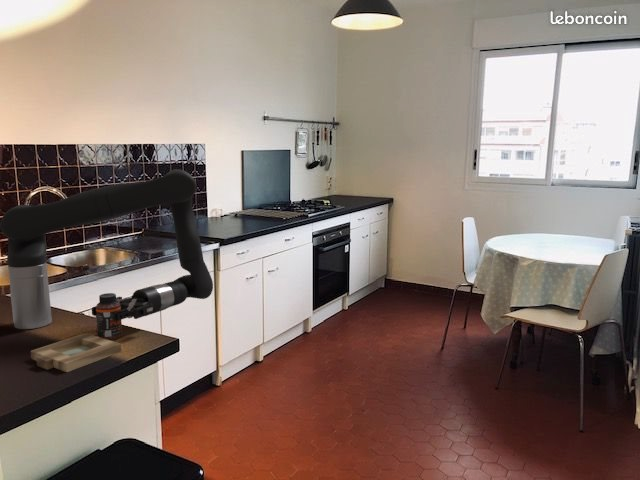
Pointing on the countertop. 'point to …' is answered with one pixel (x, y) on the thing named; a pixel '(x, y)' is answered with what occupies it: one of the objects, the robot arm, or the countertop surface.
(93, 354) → the holder
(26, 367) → the countertop surface
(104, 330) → the supplement bottle
